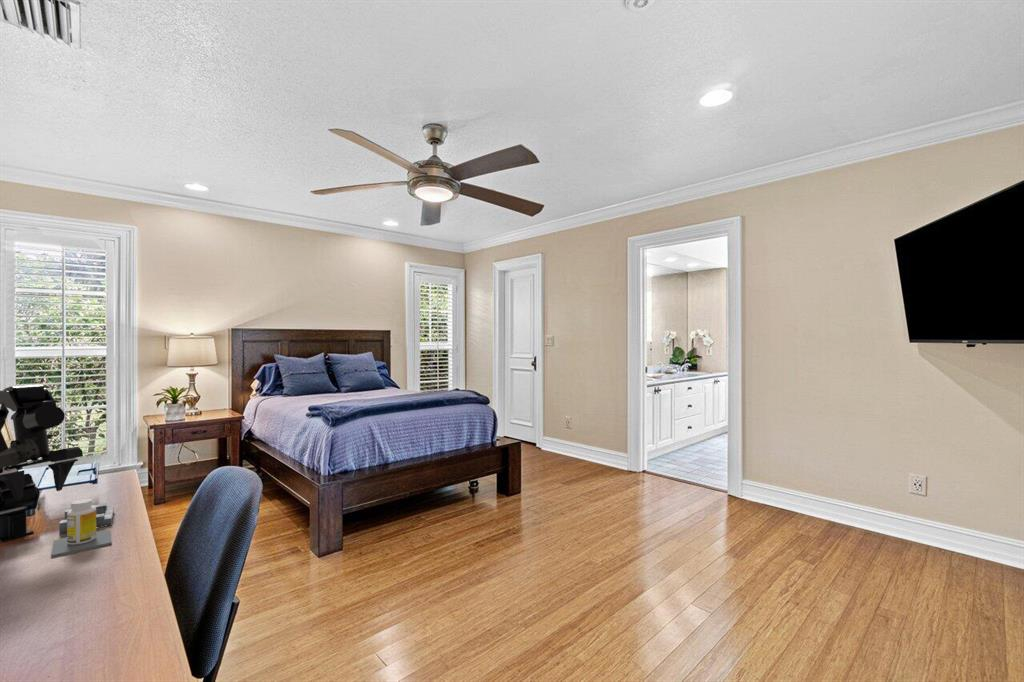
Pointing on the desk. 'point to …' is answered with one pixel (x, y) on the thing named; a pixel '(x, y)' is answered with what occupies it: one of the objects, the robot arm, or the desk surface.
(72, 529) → the supplement bottle
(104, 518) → the vise
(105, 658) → the desk surface
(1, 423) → the robot arm
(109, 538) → the slate pad
